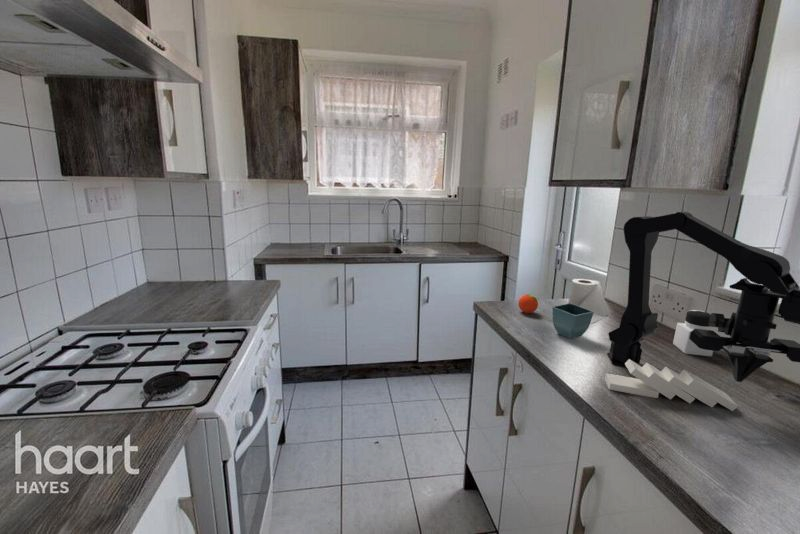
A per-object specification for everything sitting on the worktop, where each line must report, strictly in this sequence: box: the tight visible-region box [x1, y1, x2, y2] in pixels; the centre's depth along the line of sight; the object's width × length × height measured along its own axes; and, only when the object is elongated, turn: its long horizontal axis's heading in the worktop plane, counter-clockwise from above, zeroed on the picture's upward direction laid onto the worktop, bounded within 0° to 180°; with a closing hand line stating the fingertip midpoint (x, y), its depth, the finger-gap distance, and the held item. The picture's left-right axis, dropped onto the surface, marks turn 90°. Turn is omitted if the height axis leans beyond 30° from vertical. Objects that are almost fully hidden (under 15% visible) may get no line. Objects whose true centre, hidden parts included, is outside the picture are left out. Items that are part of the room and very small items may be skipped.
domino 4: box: [660, 366, 718, 408], centre depth 84 cm, size 2×5×10 cm
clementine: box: [517, 294, 541, 314], centre depth 136 cm, size 8×7×7 cm
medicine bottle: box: [672, 309, 714, 357], centre depth 108 cm, size 7×7×12 cm
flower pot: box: [552, 302, 595, 340], centre depth 117 cm, size 9×9×9 cm
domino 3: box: [641, 362, 696, 404], centre depth 85 cm, size 2×5×10 cm
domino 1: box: [604, 372, 660, 399], centre depth 88 cm, size 2×5×10 cm
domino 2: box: [625, 359, 677, 400], centre depth 86 cm, size 2×5×10 cm
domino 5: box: [678, 369, 739, 412], centre depth 83 cm, size 2×5×10 cm
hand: (737, 380), depth 81 cm, fingers closed
